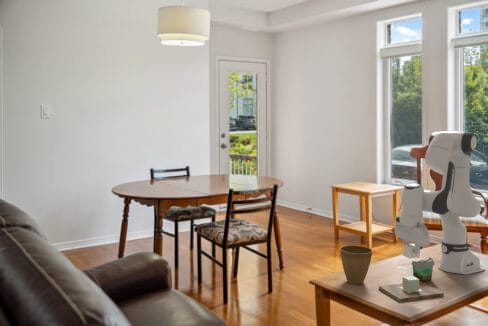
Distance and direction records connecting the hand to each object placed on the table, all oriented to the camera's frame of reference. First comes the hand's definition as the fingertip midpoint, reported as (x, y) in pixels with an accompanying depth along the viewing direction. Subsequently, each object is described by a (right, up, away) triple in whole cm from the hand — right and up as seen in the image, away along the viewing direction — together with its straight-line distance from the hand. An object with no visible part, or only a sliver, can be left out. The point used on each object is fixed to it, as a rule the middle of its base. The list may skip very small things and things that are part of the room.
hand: (411, 251), depth 209 cm
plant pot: (-21, -18, +16) cm, 32 cm away
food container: (+13, -17, +17) cm, 27 cm away
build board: (0, -19, +2) cm, 19 cm away
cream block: (0, -2, 0) cm, 2 cm away
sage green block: (0, -17, +2) cm, 17 cm away
